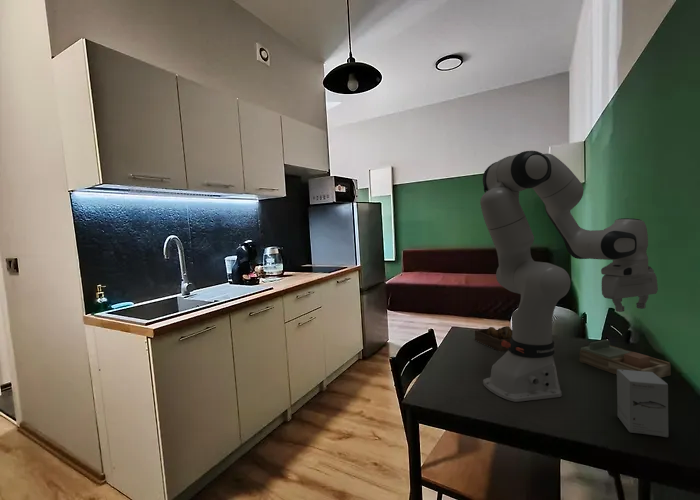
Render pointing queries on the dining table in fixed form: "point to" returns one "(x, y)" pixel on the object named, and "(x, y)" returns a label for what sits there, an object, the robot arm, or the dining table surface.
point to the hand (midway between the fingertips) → (630, 309)
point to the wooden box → (612, 365)
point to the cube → (637, 360)
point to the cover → (604, 349)
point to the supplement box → (642, 402)
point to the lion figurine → (500, 332)
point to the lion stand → (490, 340)
